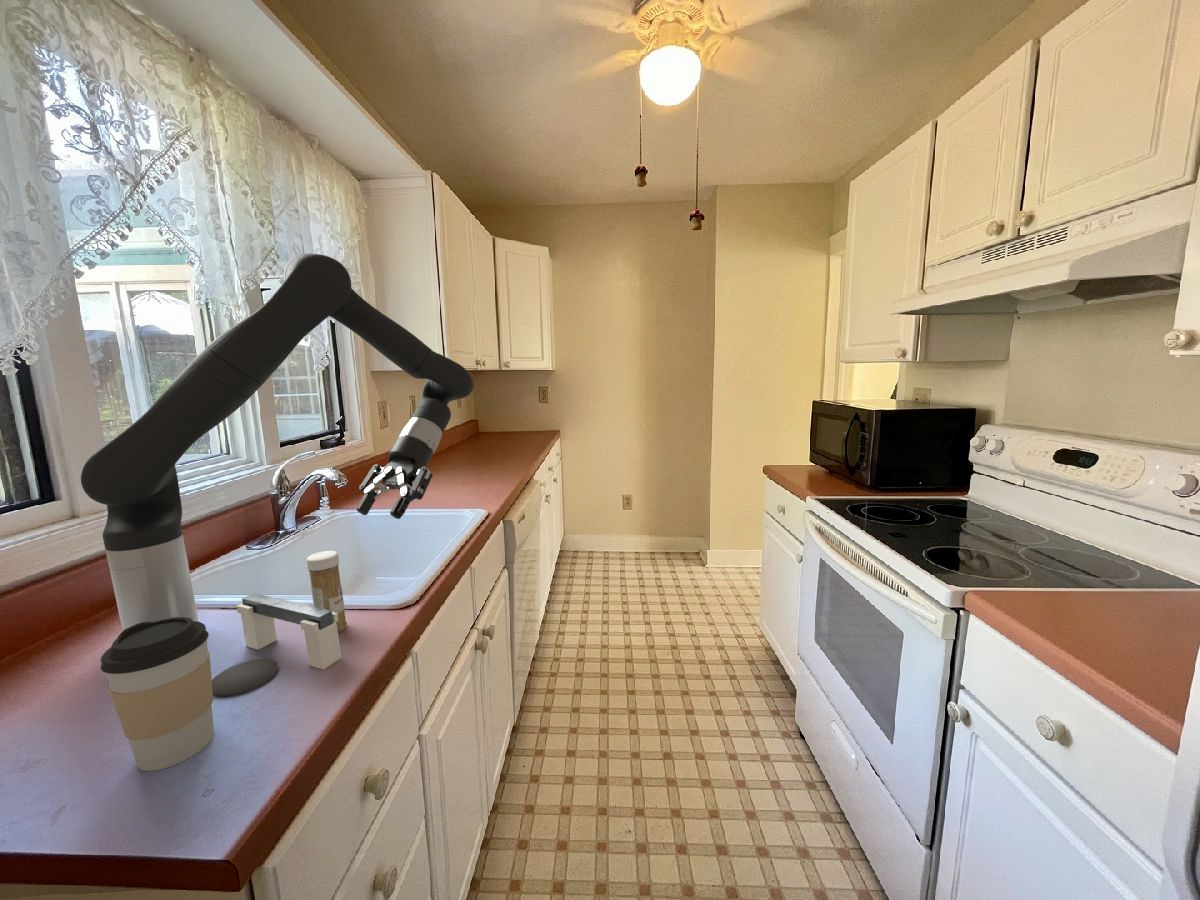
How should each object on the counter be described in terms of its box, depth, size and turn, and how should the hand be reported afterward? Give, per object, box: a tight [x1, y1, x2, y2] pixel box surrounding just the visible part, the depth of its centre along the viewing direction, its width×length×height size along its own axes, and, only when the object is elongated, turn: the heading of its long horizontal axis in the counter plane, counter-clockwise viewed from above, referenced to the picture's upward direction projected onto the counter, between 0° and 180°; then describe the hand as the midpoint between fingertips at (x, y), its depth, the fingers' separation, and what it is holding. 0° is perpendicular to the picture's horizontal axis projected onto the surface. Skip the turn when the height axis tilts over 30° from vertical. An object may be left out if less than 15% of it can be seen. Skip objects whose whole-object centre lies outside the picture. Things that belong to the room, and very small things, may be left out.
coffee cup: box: [100, 617, 215, 772], centre depth 55 cm, size 9×9×15 cm
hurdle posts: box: [236, 603, 342, 670], centre depth 75 cm, size 18×4×7 cm, turn 67°
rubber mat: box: [212, 657, 279, 698], centre depth 69 cm, size 8×8×1 cm
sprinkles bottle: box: [306, 550, 348, 634], centre depth 81 cm, size 5×5×13 cm
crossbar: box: [241, 592, 333, 630], centre depth 75 cm, size 18×2×2 cm, turn 67°
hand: (377, 515), depth 90 cm, fingers open, 8 cm apart
